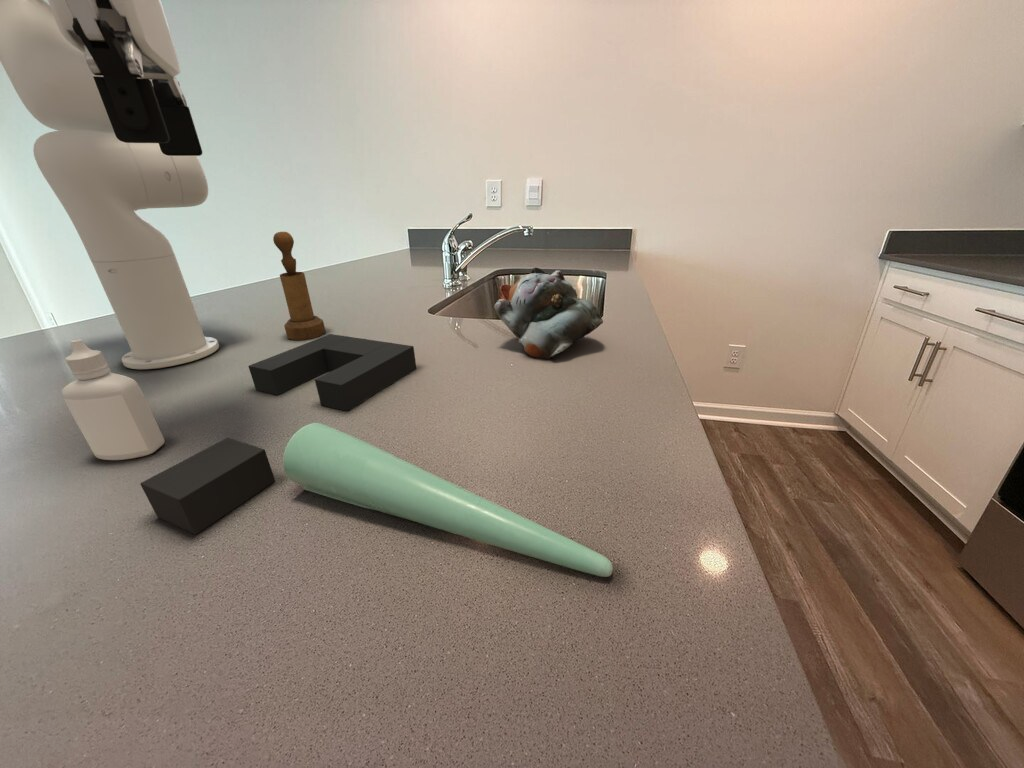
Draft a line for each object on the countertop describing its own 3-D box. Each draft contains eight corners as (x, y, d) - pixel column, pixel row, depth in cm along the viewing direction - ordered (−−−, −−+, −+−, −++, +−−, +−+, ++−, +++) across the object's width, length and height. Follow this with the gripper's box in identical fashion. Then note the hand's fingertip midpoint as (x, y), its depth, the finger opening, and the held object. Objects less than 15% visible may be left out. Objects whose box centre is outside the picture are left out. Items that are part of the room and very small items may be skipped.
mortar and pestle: (310, 341, 72) (284, 233, 64) (279, 339, 73) (249, 233, 66) (332, 329, 78) (311, 230, 70) (303, 328, 79) (278, 230, 72)
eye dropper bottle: (123, 469, 39) (61, 352, 34) (90, 457, 41) (26, 345, 36) (172, 445, 43) (123, 336, 37) (140, 435, 45) (88, 330, 39)
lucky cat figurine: (537, 366, 59) (495, 278, 57) (513, 368, 71) (478, 295, 69) (618, 323, 63) (581, 239, 61) (583, 332, 75) (551, 261, 73)
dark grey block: (157, 517, 33) (139, 483, 32) (239, 468, 39) (227, 437, 37) (195, 535, 31) (178, 499, 30) (275, 480, 37) (265, 448, 35)
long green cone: (610, 547, 23) (274, 443, 33) (602, 612, 25) (292, 496, 35) (627, 487, 27) (327, 412, 37) (619, 548, 29) (339, 461, 39)
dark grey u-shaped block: (255, 389, 54) (248, 365, 53) (335, 354, 66) (330, 333, 64) (347, 411, 49) (341, 385, 47) (416, 368, 60) (413, 345, 59)
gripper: (67, -74, 34) (150, 159, 41) (-128, -282, 19) (53, 134, 27) (174, -58, 37) (235, 159, 44) (74, -232, 22) (190, 136, 29)
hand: (166, 149), depth 35 cm, fingers open, 9 cm apart
